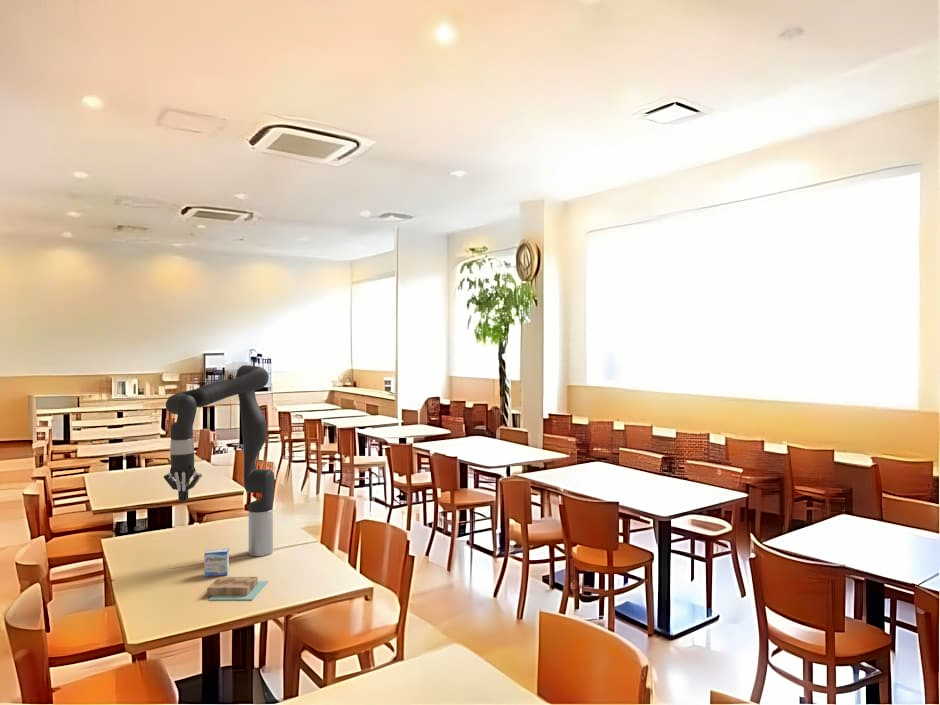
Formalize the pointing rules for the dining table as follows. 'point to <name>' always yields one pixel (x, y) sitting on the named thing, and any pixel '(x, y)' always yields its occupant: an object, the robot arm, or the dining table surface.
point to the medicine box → (216, 562)
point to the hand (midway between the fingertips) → (183, 501)
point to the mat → (249, 597)
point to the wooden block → (232, 586)
